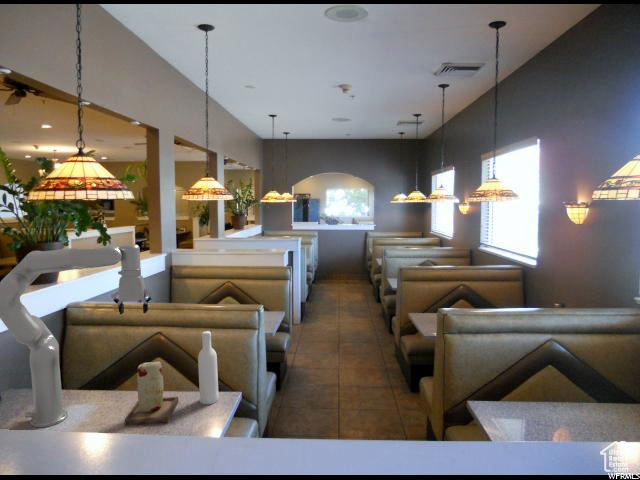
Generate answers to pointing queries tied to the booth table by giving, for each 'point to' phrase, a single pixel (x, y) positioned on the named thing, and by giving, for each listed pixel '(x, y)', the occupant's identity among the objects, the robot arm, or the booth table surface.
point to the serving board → (152, 413)
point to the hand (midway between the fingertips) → (133, 313)
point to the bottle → (208, 371)
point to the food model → (150, 386)
